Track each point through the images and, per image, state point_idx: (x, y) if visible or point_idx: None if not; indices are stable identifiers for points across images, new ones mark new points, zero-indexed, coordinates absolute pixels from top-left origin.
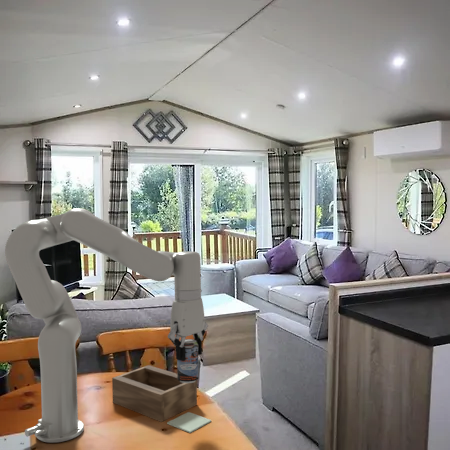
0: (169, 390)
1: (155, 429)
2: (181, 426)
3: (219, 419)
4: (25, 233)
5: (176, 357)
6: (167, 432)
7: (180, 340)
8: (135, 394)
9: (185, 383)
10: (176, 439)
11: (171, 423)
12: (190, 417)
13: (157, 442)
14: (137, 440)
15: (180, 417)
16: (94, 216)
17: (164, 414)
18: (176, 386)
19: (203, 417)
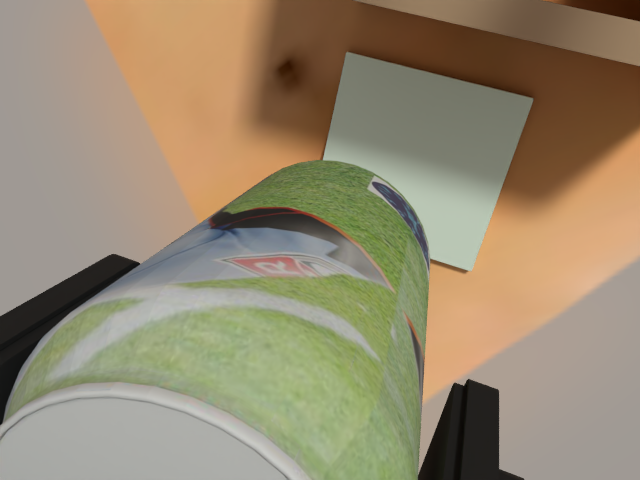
0: (412, 2)
1: (267, 27)
2: (339, 154)
3: (513, 299)
4: None
5: (104, 267)
6: (269, 109)
7: (110, 395)
8: None
9: (635, 47)
10: (233, 186)
11: (346, 82)
12: (460, 148)
13: (172, 118)
14: (139, 13)
15: (436, 91)
16: None
17: (375, 5)
18: (526, 7)
19: (487, 219)
